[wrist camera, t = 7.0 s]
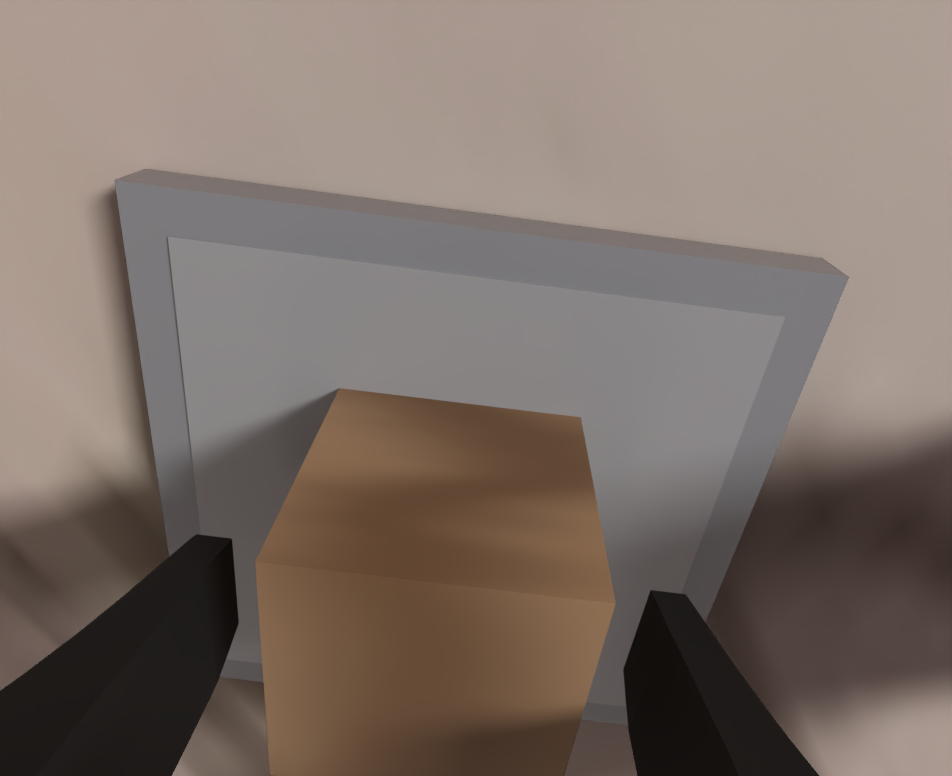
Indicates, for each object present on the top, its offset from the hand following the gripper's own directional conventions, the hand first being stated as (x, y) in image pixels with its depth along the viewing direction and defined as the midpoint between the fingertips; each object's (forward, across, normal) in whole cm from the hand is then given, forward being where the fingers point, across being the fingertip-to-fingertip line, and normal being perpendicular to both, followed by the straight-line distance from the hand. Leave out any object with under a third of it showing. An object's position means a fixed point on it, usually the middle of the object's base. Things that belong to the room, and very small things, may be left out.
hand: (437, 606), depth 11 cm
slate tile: (+3, 0, 0) cm, 3 cm away
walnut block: (+2, 0, 0) cm, 2 cm away
